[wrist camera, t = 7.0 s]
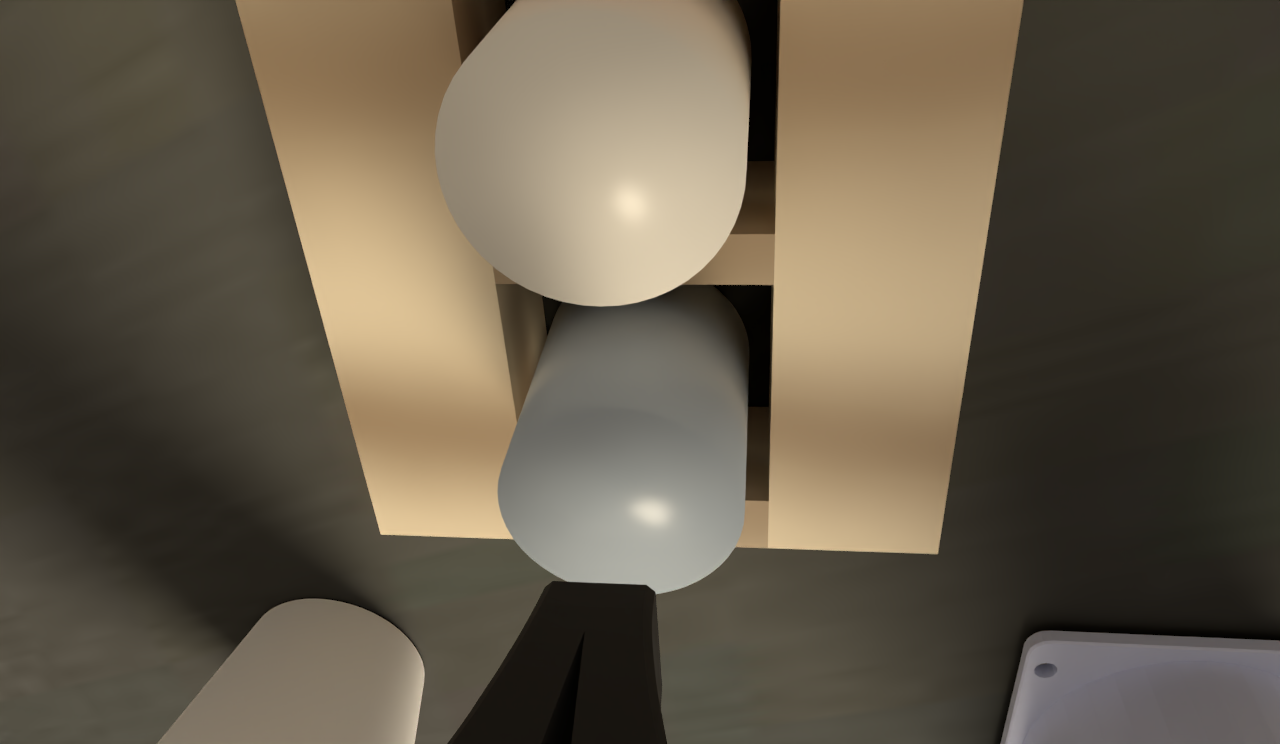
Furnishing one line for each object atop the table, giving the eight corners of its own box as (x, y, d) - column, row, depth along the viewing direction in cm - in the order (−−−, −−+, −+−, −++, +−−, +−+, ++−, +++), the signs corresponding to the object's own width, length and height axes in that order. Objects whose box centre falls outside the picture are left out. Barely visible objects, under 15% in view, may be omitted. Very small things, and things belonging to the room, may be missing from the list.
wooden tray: (917, 455, 21) (937, 554, 19) (423, 443, 22) (380, 534, 20) (1078, -787, 11) (1168, -927, 9) (172, -677, 12) (25, -772, 10)
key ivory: (750, 174, 16) (745, 307, 13) (527, 176, 17) (460, 305, 13) (752, -73, 14) (747, 2, 11) (496, -64, 15) (408, 13, 11)
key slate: (748, 434, 20) (744, 600, 16) (560, 429, 20) (513, 590, 16) (750, 263, 17) (745, 409, 14) (539, 263, 18) (480, 405, 14)
